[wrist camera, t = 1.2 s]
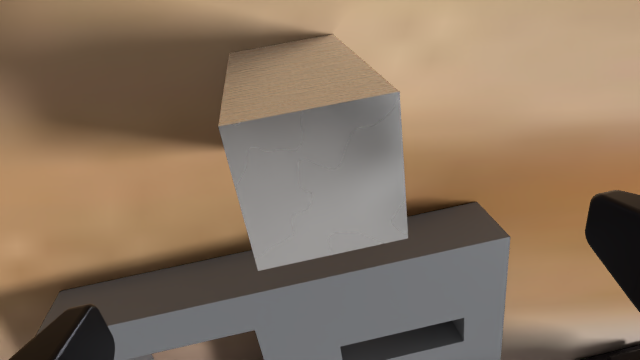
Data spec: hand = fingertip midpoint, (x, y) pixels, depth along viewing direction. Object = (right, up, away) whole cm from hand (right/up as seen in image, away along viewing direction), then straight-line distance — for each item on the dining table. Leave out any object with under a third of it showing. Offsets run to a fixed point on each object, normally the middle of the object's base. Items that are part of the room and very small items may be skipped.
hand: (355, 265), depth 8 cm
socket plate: (-2, -6, +15) cm, 16 cm away
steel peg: (-2, +5, +10) cm, 11 cm away
